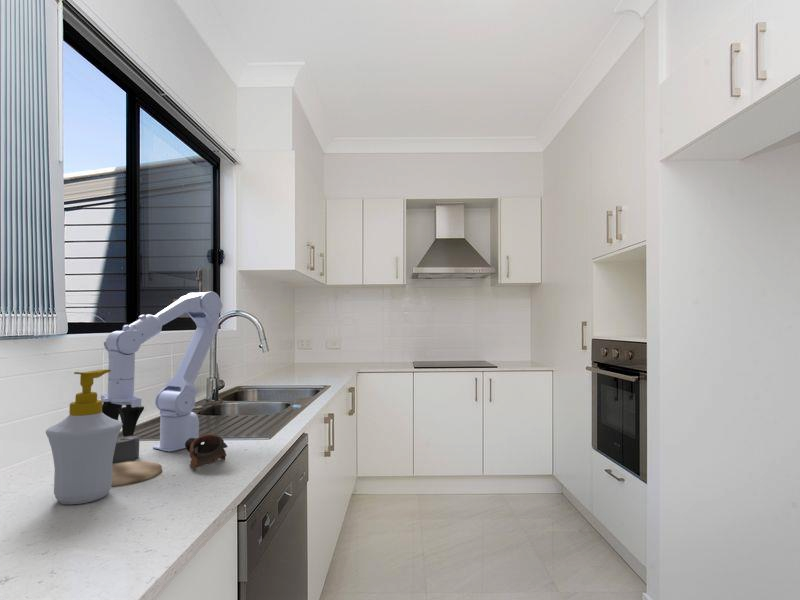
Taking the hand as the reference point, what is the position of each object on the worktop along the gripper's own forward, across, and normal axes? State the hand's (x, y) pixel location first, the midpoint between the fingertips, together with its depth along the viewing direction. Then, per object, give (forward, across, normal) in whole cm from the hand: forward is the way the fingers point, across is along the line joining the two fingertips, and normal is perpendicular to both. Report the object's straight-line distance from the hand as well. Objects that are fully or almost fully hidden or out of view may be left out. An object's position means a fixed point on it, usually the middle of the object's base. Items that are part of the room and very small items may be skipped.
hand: (119, 434), depth 121 cm
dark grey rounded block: (+7, 0, -1) cm, 7 cm away
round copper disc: (+6, +12, -6) cm, 15 cm away
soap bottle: (+7, +20, -18) cm, 28 cm away
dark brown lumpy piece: (+7, +21, +9) cm, 24 cm away
